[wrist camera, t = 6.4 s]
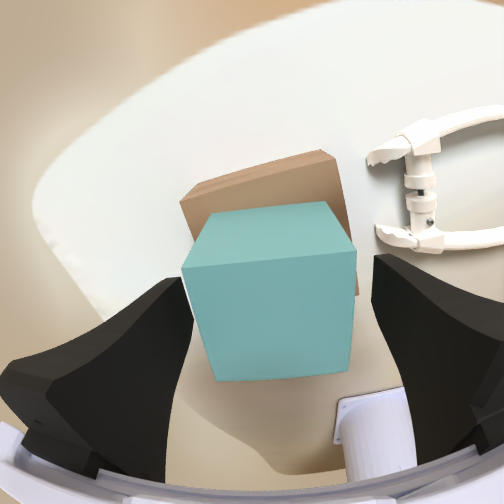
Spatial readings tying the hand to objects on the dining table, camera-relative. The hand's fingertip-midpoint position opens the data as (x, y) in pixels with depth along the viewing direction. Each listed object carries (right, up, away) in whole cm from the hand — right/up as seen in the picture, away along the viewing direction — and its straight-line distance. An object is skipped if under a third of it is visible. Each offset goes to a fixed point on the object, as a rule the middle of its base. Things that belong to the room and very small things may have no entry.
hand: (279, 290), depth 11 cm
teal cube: (0, +1, +3) cm, 3 cm away
